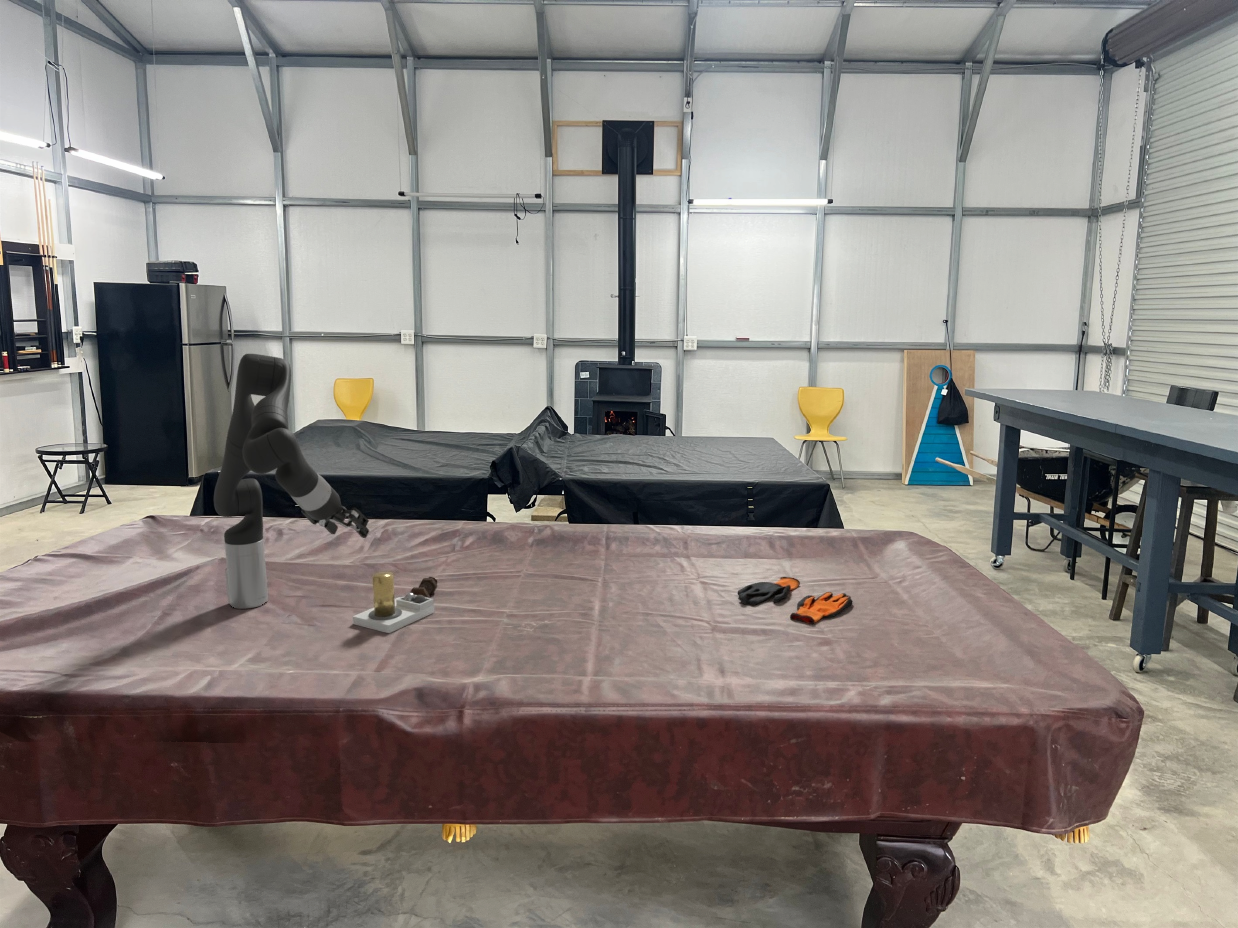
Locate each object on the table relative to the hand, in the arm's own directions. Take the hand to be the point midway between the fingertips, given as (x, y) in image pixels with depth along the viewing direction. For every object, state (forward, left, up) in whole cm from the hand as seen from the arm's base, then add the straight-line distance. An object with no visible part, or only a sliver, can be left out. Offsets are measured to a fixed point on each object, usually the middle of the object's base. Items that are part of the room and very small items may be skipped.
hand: (350, 532), depth 192 cm
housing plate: (-2, +14, -26) cm, 30 cm away
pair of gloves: (+82, +77, -27) cm, 115 cm away
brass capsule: (-2, +11, -24) cm, 26 cm away
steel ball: (-2, +20, -23) cm, 30 cm away
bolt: (-6, +30, -27) cm, 41 cm away
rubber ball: (+1, +20, -23) cm, 30 cm away
